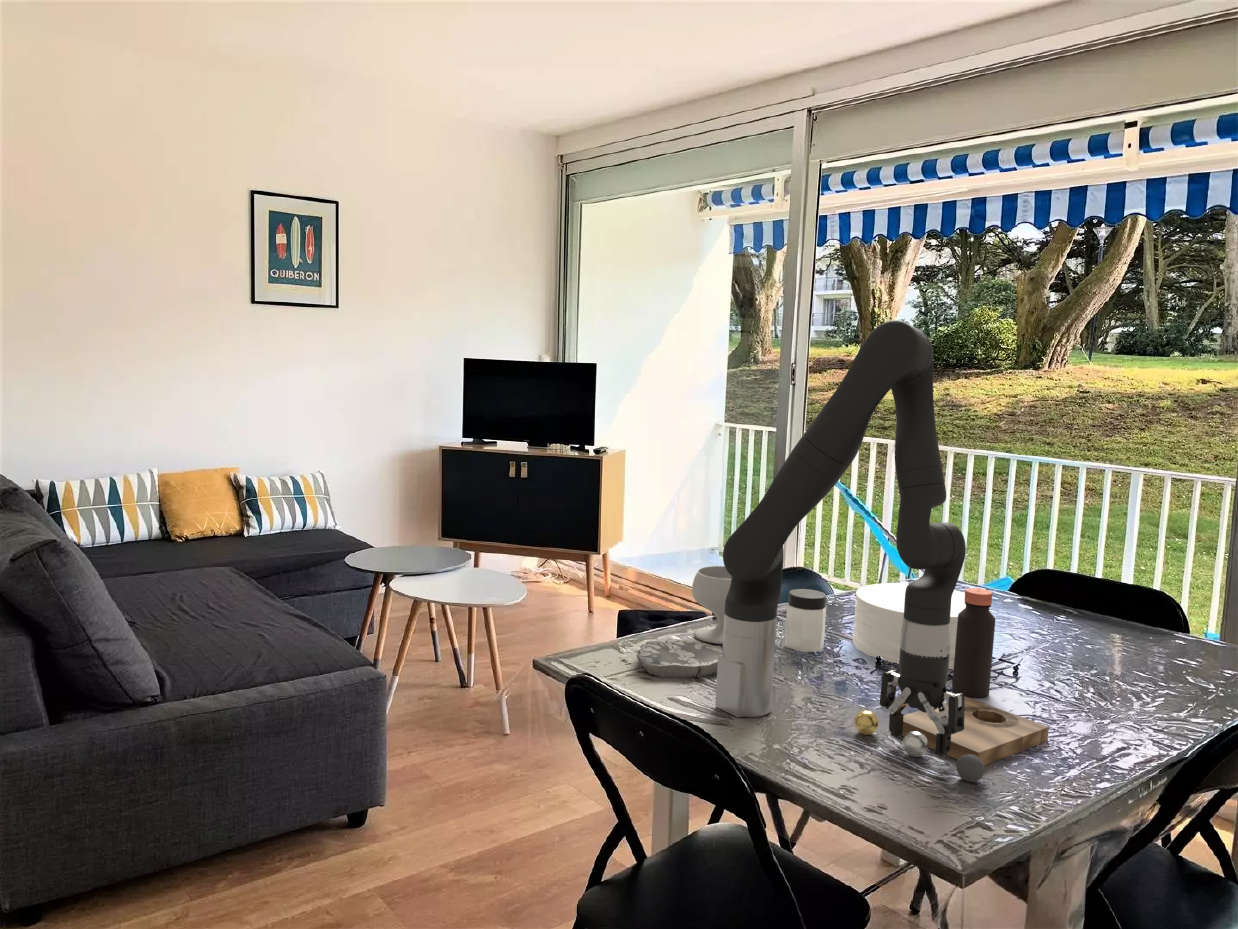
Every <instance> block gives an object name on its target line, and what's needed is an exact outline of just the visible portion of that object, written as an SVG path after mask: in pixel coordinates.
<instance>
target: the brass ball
mask: <svg viewBox="0 0 1238 929" xmlns="http://www.w3.org/2000/svg"><path fill="white" fill-rule="evenodd" d="M853 723H854V724H853V725H854V727H855V729H856V730H857V731H858V732H859V733H860V734H862V735H864V736H869V735H872V734H874V733H876V731H877V730H878V728H879V718H878V717H877V715H876V714H875V713H874V712H872V711H871V710H866V709H865V710H861V711H859V712H858V713H857V714H856V715H855V717H854V720H853Z"/></svg>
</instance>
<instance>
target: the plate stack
mask: <svg viewBox="0 0 1238 929" xmlns="http://www.w3.org/2000/svg"><path fill="white" fill-rule="evenodd" d="M908 584H909V583H906V582H905V583H904V582H902V583H900V582H888V583H887V582H885V583H874V584H873V583H872V584H868V585H865V586H862V587H860V588H857V590H856V591H855V592H856V593H855V601H856V602H855V603H854V604H855V605H854V610H855V612H854V618H853V620H854V624H853V637H852V644H853V646H854V645H855V646H854V647H855V648H856V649H857V650H858V651H860V650H861V651H862V653H863V652H864V653H863V654H864V655H866V656H869V657H871V656H874V657H877V656H880V657H882V658H883V659H885V660H888V661H889V662H895V663H897V664H899V656H900V640H901V629H902V624H903V617H904V602H905V591H906V587H907V586H908ZM964 599H965V591H964V592H963V591H960V590H955V589H954V592H953V594H952V598H951V613H950V633H951V639H950V655H949V669H954V657H955V645H956V633H957V621H958V614H959V613H960V612H961V611H962V610H963V609H965V608H966V604H965V601H964ZM990 608H991V607H989V610H990ZM861 651H860V652H861ZM874 657H873V658H874ZM889 662H888V663H889ZM897 664H896V665H897Z"/></svg>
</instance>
